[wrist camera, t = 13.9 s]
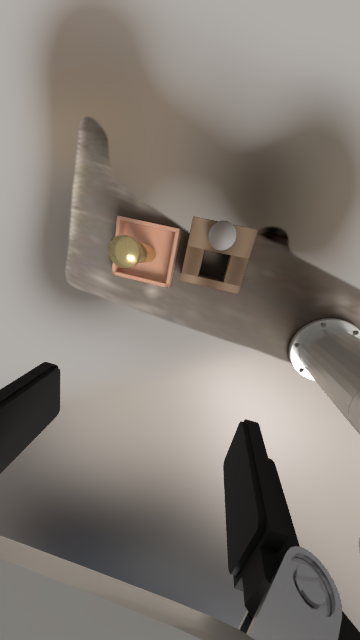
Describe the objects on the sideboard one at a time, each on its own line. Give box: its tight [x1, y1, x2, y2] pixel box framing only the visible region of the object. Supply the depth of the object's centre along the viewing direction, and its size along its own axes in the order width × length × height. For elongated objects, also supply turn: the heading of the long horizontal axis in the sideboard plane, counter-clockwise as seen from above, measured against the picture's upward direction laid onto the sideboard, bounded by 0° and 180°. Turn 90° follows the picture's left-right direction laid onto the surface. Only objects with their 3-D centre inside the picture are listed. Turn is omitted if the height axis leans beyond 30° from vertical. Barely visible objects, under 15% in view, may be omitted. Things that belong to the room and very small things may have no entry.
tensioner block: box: [180, 217, 258, 294], centre depth 33 cm, size 10×10×6 cm
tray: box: [112, 216, 182, 288], centre depth 36 cm, size 11×10×2 cm
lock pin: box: [108, 235, 156, 268], centre depth 32 cm, size 4×4×11 cm
